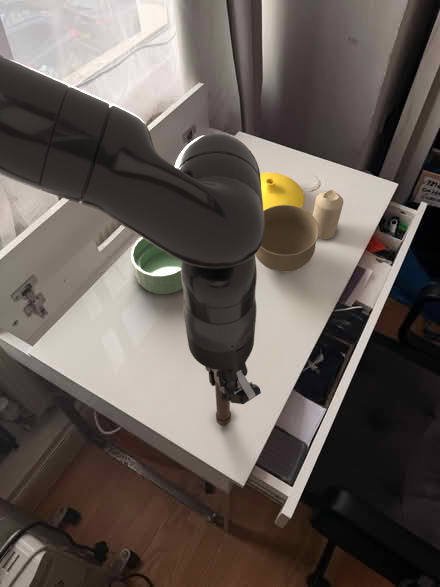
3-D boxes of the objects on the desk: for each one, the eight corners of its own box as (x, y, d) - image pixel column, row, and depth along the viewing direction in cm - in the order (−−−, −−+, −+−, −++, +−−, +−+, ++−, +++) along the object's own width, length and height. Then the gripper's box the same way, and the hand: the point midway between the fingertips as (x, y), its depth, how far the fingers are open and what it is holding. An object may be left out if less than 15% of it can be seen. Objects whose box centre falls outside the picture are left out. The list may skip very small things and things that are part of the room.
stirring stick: (221, 429, 68) (219, 383, 55) (213, 416, 70) (209, 369, 56) (233, 420, 69) (234, 374, 56) (225, 408, 70) (224, 360, 57)
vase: (234, 183, 105) (234, 158, 99) (300, 183, 104) (304, 159, 98) (233, 229, 95) (233, 205, 90) (305, 231, 95) (310, 206, 89)
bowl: (237, 267, 89) (238, 232, 81) (272, 231, 95) (275, 195, 87) (290, 296, 84) (296, 262, 76) (323, 256, 90) (332, 221, 82)
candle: (314, 218, 97) (322, 182, 89) (338, 226, 95) (348, 190, 87) (306, 235, 94) (313, 199, 86) (330, 242, 92) (340, 207, 84)
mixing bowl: (153, 305, 84) (148, 286, 79) (126, 265, 90) (120, 245, 85) (206, 277, 87) (204, 258, 82) (176, 241, 93) (173, 221, 89)
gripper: (158, 292, 49) (174, 364, 62) (226, 388, 42) (227, 445, 55) (215, 264, 51) (218, 339, 65) (288, 350, 44) (274, 414, 58)
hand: (222, 388), depth 60 cm, fingers closed on stirring stick, 2 cm apart
